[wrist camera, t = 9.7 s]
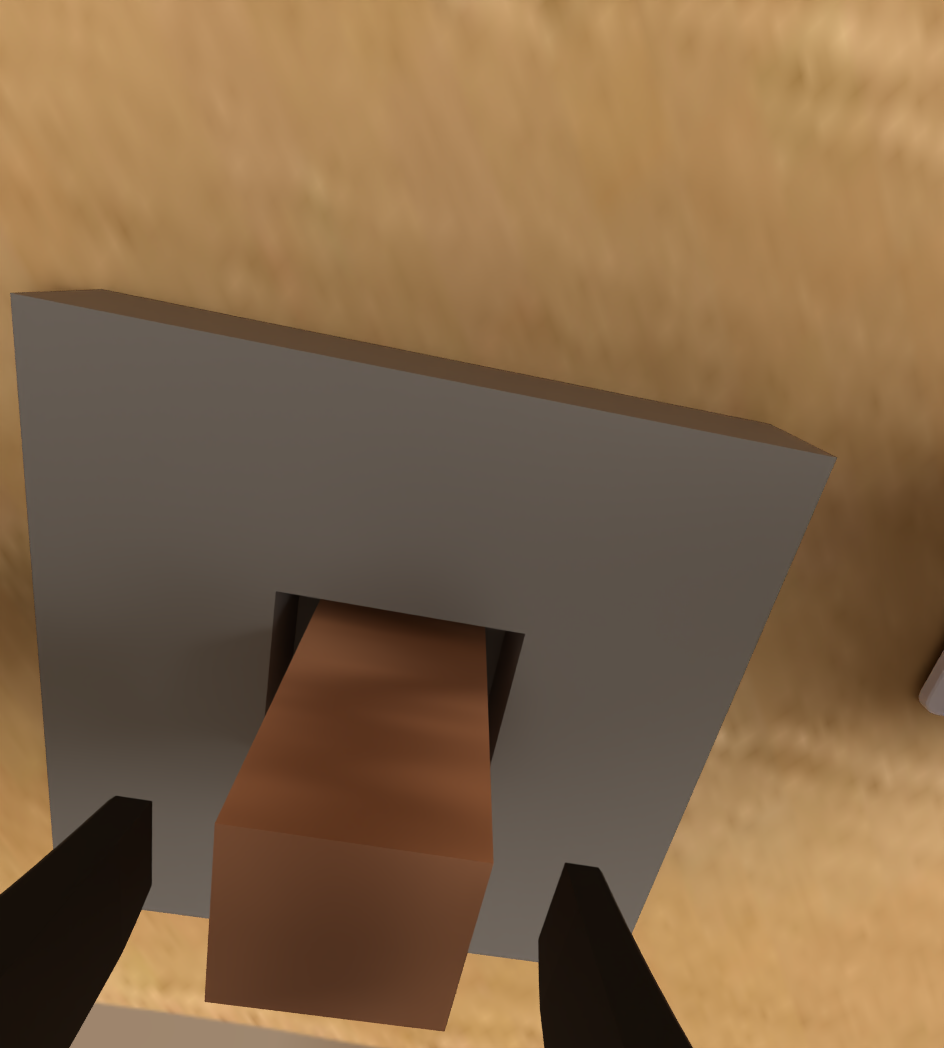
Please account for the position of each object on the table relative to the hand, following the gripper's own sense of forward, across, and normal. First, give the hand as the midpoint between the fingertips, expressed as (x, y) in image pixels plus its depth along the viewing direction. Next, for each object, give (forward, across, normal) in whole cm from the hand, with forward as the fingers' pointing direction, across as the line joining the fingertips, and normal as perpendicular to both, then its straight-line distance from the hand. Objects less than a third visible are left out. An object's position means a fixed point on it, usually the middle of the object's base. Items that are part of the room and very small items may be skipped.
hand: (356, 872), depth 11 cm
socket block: (+7, 0, 0) cm, 7 cm away
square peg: (+7, 0, 0) cm, 7 cm away
